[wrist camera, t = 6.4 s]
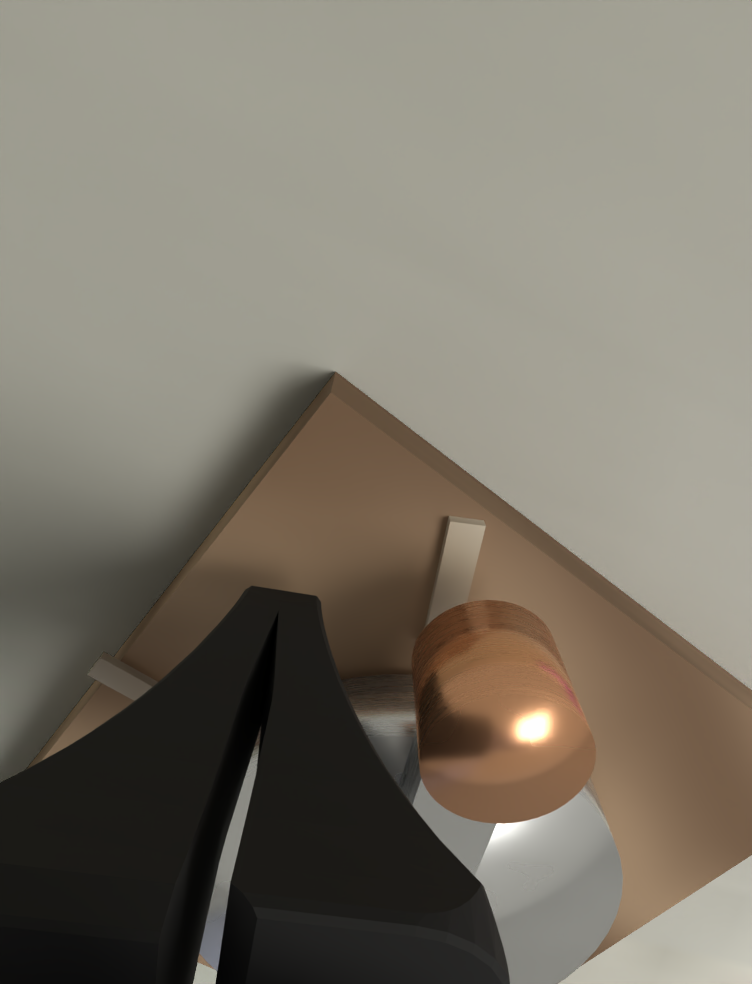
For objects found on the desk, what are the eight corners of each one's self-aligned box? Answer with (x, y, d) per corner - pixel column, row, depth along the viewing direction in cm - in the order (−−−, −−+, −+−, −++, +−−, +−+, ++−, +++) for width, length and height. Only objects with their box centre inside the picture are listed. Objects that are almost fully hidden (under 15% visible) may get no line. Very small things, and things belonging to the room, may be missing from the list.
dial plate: (427, 1010, 22) (431, 1072, 21) (-19, 803, 18) (-57, 862, 16) (817, 740, 17) (861, 795, 16) (319, 359, 13) (311, 382, 11)
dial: (526, 973, 19) (564, 1167, 15) (178, 928, 18) (125, 1124, 14) (723, 592, 13) (861, 750, 9) (234, 501, 12) (173, 636, 9)
